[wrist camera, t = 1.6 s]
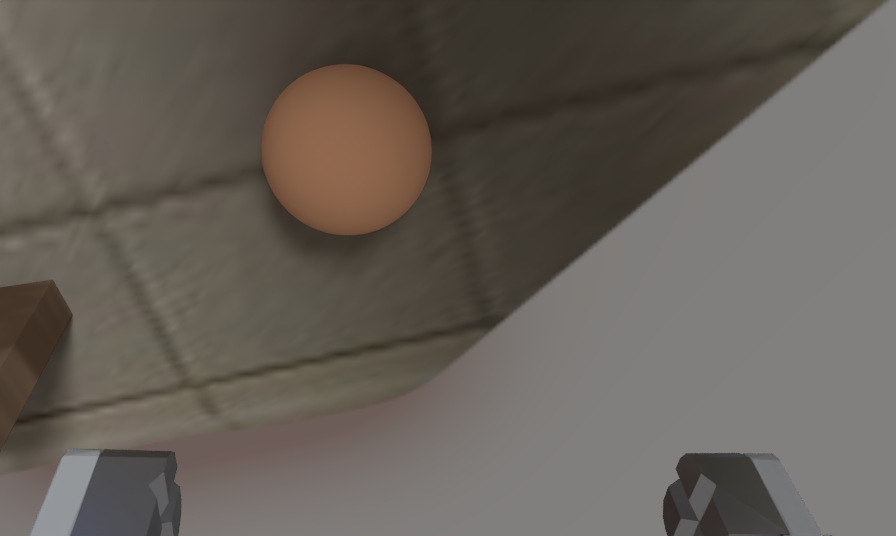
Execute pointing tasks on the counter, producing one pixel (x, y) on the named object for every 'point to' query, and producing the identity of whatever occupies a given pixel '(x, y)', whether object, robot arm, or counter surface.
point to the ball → (346, 149)
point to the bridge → (26, 343)
